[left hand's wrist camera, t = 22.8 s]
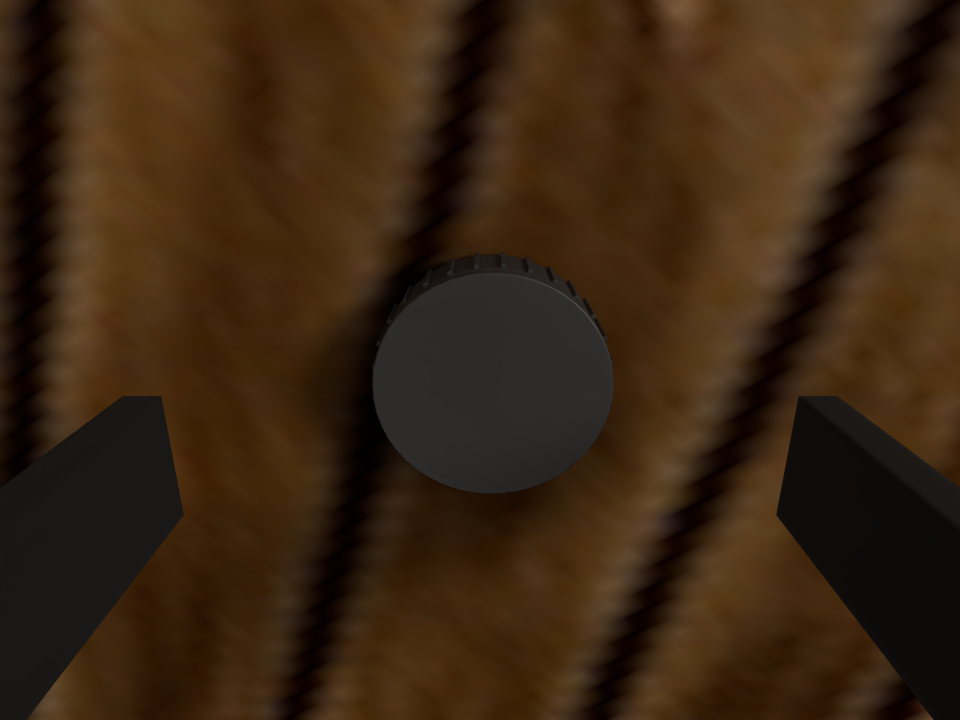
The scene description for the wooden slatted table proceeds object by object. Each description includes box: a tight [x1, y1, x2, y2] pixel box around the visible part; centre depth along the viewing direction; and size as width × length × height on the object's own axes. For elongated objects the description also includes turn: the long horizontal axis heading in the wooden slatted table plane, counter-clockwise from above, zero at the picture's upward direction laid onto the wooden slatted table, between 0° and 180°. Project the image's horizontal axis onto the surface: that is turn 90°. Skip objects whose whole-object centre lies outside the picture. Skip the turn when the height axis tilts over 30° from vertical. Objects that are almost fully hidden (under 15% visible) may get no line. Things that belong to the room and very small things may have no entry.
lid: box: [372, 252, 613, 493], centre depth 14 cm, size 5×5×2 cm
